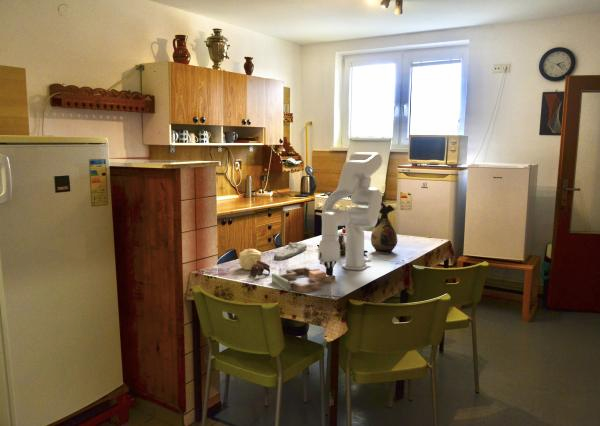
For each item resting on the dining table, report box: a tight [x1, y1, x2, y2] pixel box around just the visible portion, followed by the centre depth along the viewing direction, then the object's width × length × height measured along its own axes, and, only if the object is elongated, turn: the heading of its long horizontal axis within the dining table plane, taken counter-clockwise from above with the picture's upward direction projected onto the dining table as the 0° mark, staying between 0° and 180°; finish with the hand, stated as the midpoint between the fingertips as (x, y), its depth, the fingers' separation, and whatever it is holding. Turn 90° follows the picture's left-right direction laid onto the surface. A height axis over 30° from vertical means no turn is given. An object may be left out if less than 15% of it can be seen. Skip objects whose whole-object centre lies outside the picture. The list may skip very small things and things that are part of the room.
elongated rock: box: [273, 241, 308, 261], centre depth 288 cm, size 35×5×10 cm
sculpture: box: [238, 248, 263, 271], centre depth 254 cm, size 12×12×11 cm
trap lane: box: [271, 266, 336, 294], centre depth 230 cm, size 26×27×4 cm
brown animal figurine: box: [249, 260, 271, 278], centre depth 241 cm, size 12×10×8 cm
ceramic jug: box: [370, 201, 398, 255], centre depth 289 cm, size 17×15×30 cm
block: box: [308, 269, 327, 280], centre depth 234 cm, size 6×6×4 cm
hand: (329, 275), depth 237 cm, fingers closed
